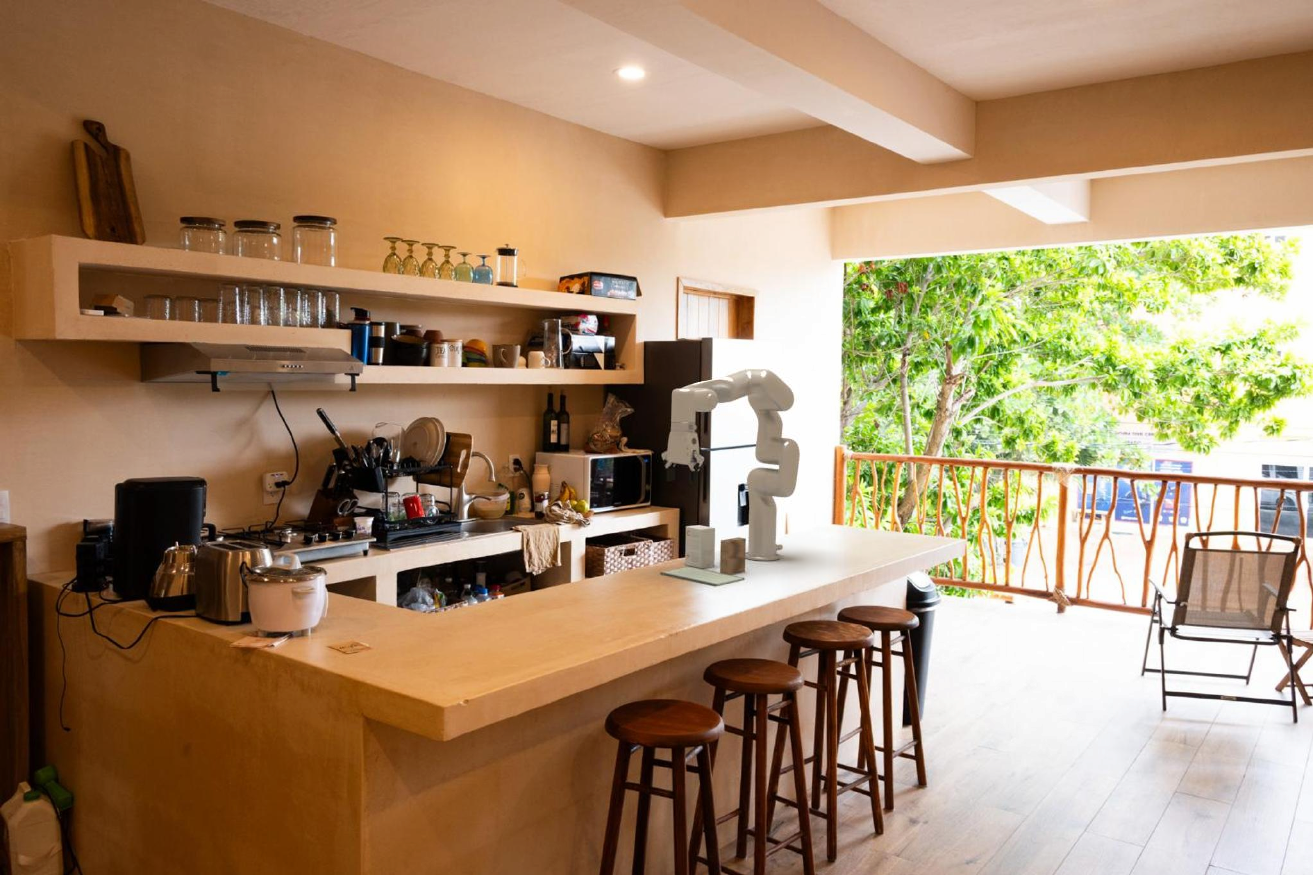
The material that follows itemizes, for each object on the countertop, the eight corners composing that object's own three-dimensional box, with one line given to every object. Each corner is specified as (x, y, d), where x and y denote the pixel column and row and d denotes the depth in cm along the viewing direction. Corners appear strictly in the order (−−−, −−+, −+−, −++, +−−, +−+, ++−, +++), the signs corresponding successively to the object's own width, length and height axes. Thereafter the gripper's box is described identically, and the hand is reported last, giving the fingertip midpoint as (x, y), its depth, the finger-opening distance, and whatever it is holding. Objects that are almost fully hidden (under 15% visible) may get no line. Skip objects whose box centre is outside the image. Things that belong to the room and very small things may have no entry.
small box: (714, 566, 321) (715, 527, 320) (700, 568, 317) (701, 529, 316) (698, 562, 327) (699, 524, 326) (684, 564, 323) (685, 526, 322)
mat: (689, 568, 317) (689, 566, 317) (744, 579, 301) (744, 577, 301) (660, 574, 307) (660, 572, 307) (715, 586, 291) (715, 584, 291)
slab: (737, 570, 315) (738, 537, 314) (744, 572, 313) (745, 538, 312) (719, 574, 309) (720, 540, 308) (727, 575, 306) (727, 541, 306)
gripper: (711, 429, 299) (710, 483, 301) (671, 426, 312) (670, 478, 313) (695, 429, 294) (694, 485, 295) (655, 426, 306) (654, 480, 307)
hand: (681, 482), depth 304 cm, fingers open, 9 cm apart
